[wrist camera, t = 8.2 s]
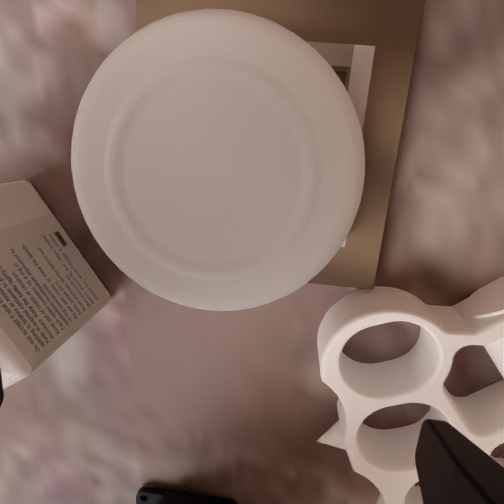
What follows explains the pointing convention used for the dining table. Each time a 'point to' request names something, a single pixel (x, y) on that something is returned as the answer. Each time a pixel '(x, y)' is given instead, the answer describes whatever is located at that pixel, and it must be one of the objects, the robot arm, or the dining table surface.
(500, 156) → the dining table surface
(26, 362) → the container
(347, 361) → the white compartment tray
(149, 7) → the brown flat square frame
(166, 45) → the sprinkles bottle
